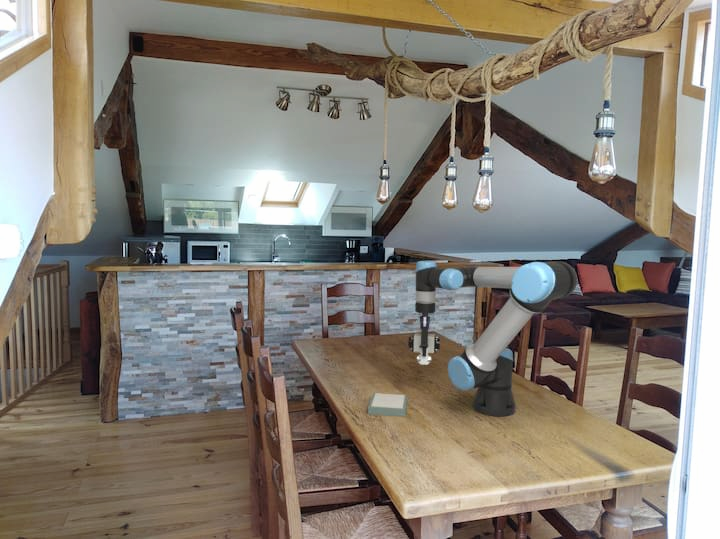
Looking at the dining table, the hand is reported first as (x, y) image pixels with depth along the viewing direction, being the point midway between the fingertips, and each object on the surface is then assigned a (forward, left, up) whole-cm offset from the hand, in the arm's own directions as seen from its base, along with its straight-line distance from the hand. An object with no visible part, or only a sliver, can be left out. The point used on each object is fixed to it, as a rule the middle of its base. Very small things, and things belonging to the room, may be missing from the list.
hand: (424, 362), depth 197 cm
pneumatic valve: (0, 0, -1) cm, 1 cm away
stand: (+12, +13, -14) cm, 23 cm away
